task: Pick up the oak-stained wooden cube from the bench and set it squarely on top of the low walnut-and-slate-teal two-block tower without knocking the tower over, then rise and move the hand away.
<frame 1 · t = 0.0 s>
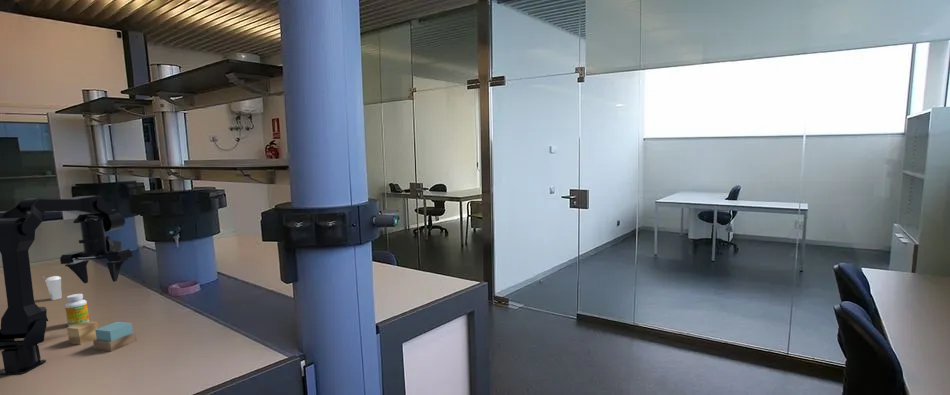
hand: (100, 282, 144), 15 cm above the table, tool pointing down, fingers open, 9 cm apart
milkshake: (55, 299, 178), on the table
oak cube: (84, 340, 135), on the table
tower top block: (115, 336, 130), point 3 cm above the table
supplement bottle: (79, 324, 149), on the table
tower base block: (116, 346, 130), on the table
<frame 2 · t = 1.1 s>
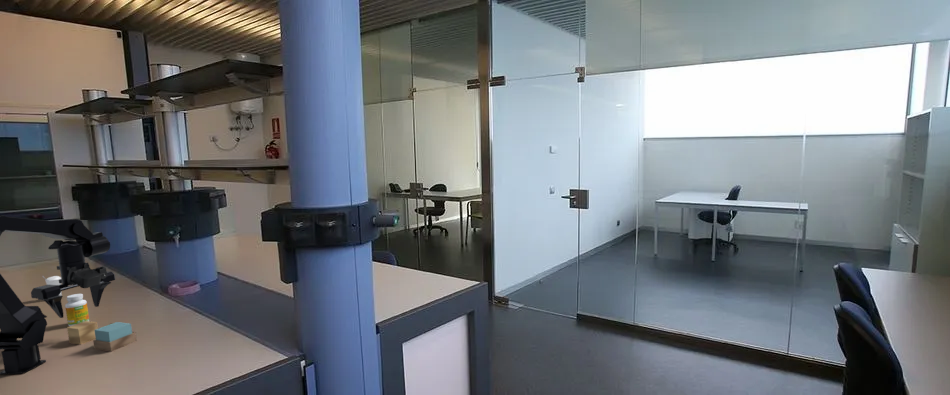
hand: (79, 312, 134), 9 cm above the table, tool pointing down, fingers open, 9 cm apart
tower top block: (114, 336, 130), point 3 cm above the table, touching tower base block
tower base block: (116, 346, 130), on the table, touching tower top block
everything else where it was.
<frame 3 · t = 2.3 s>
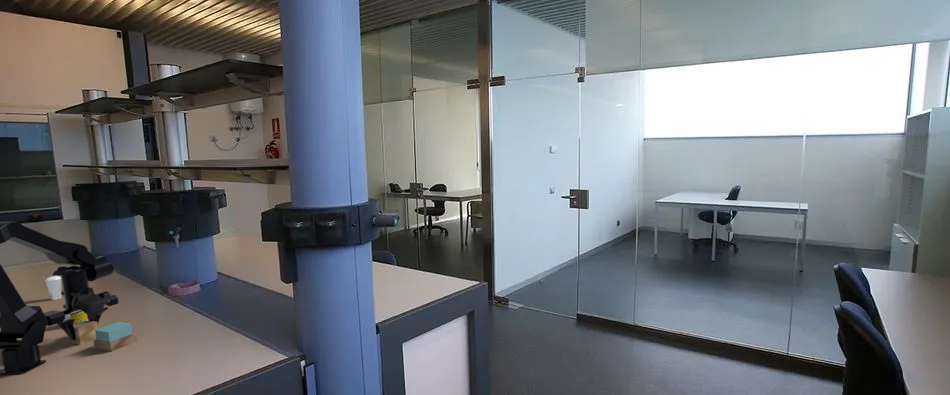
hand: (83, 336, 135), 1 cm above the table, tool pointing down, fingers closed on oak cube, 5 cm apart
oak cube: (84, 340, 135), on the table, touching gripper
tower top block: (114, 336, 130), point 3 cm above the table
tower base block: (116, 346, 130), on the table
everything else where it was.
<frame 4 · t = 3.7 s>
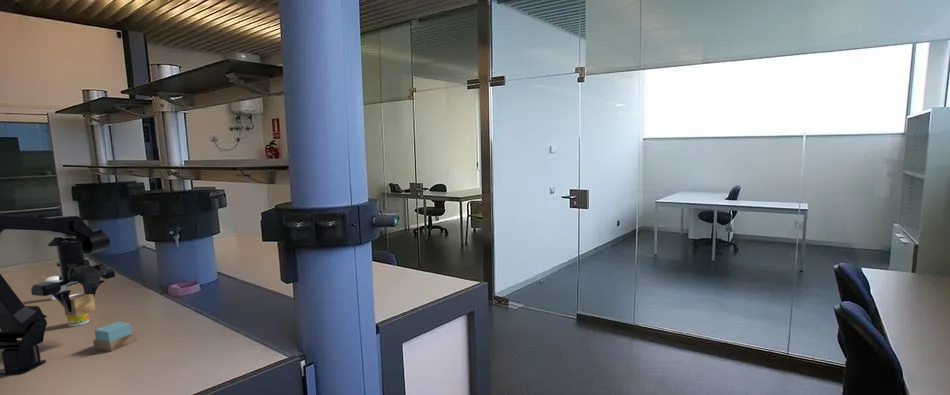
hand: (80, 308, 134), 10 cm above the table, tool pointing down, fingers closed on oak cube, 5 cm apart
oak cube: (80, 312, 134), point 9 cm above the table, touching gripper
tower top block: (114, 336, 130), point 3 cm above the table, touching tower base block
tower base block: (116, 346, 130), on the table, touching tower top block
everything else where it was.
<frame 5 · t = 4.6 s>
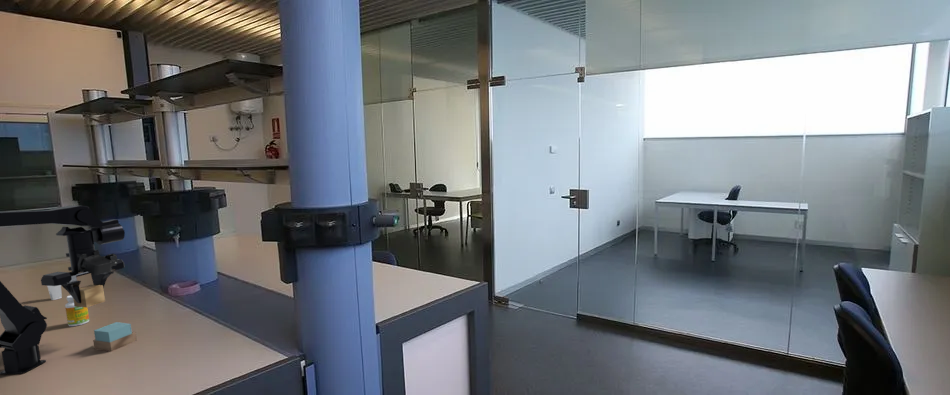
hand: (89, 299, 132), 13 cm above the table, tool pointing down, fingers closed on oak cube, 5 cm apart
oak cube: (90, 303, 132), point 12 cm above the table, touching gripper
everything else where it was.
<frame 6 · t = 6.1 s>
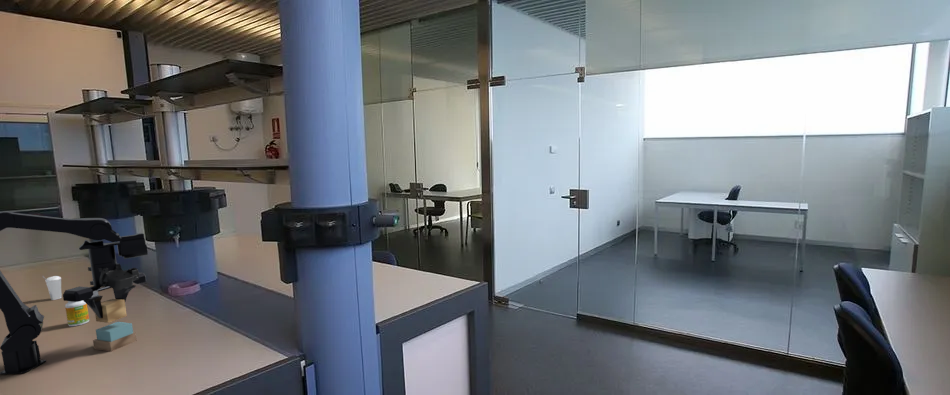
hand: (111, 314, 129), 9 cm above the table, tool pointing down, fingers closed on oak cube, 5 cm apart
oak cube: (111, 318, 129), point 8 cm above the table, touching gripper
everything else where it was.
when the fingers open (9 cm above the table, at t = 7.3 s): oak cube drops 2 cm, resting on tower top block.
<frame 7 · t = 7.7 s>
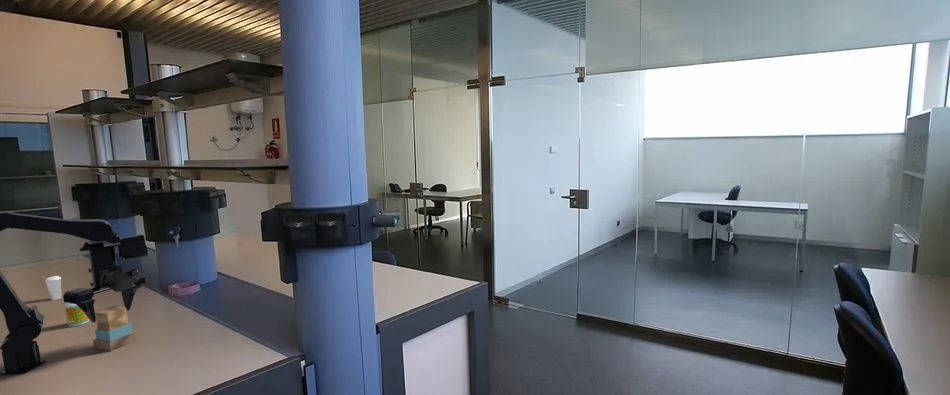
hand: (111, 316, 129), 9 cm above the table, tool pointing down, fingers open, 9 cm apart
oak cube: (113, 326, 130), point 6 cm above the table, touching tower top block
tower top block: (114, 336, 130), point 3 cm above the table, touching oak cube
tower base block: (115, 346, 131), on the table
everything else where it was.
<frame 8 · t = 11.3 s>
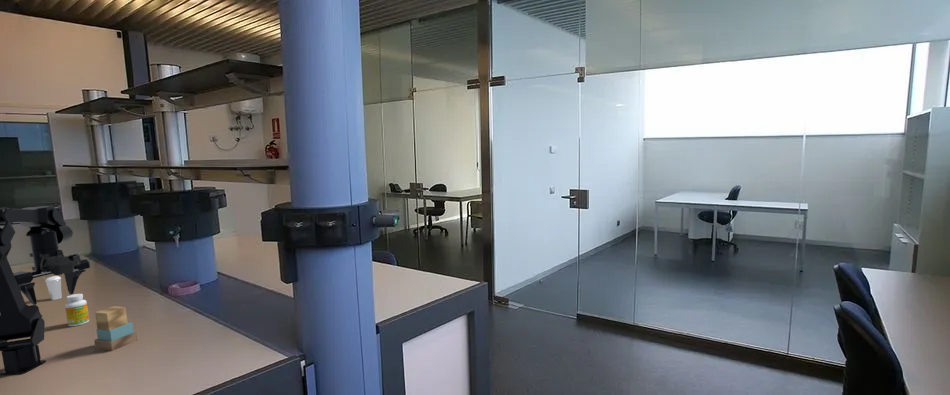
hand: (53, 299, 134), 13 cm above the table, tool pointing down, fingers open, 9 cm apart
tower top block: (116, 335, 131), point 3 cm above the table, touching oak cube, tower base block
tower base block: (117, 345, 131), on the table, touching tower top block
everything else where it was.
at the end: oak cube 0.4 cm off-centre on the tower top block, point 3.0 cm above the tower top block's base; oak cube tilted 0°; tower top block 0.1 cm off-centre on the tower base block, point 3.0 cm above the tower base block's base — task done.
